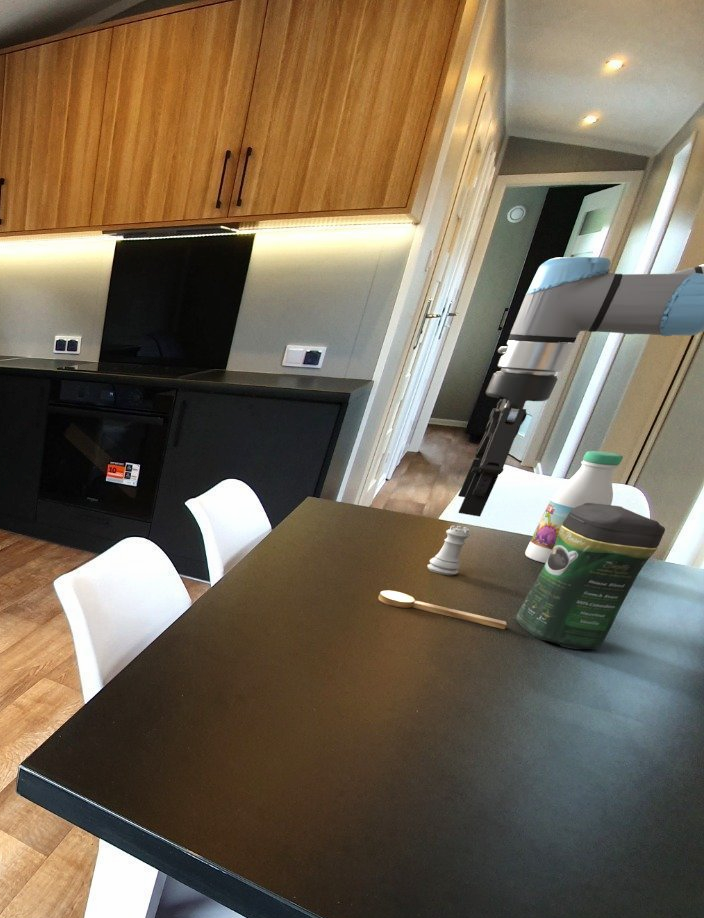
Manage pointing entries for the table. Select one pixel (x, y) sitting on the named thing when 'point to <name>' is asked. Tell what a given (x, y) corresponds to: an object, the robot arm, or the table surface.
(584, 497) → the milk bottle
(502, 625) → the wooden spoon
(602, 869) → the table surface
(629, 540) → the coffee jar
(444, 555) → the rook chess piece
